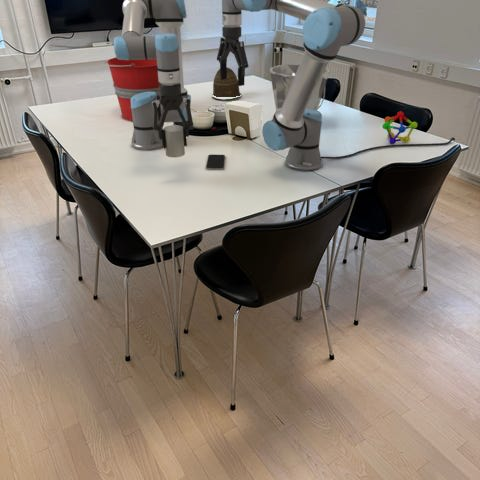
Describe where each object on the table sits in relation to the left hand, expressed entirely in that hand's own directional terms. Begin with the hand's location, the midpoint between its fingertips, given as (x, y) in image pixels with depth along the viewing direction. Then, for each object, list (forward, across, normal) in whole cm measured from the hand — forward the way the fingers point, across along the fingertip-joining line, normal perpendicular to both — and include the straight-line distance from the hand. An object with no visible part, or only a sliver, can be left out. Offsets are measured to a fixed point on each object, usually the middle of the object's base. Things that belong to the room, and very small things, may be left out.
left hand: (174, 145), depth 165 cm
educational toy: (+15, +108, +9) cm, 109 cm away
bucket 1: (+16, +2, +92) cm, 94 cm away
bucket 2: (+15, +74, +49) cm, 90 cm away
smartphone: (+14, +20, +12) cm, 27 cm away
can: (+3, 0, 0) cm, 3 cm away
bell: (+16, +58, +115) cm, 130 cm away
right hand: (-16, +31, +24) cm, 42 cm away
